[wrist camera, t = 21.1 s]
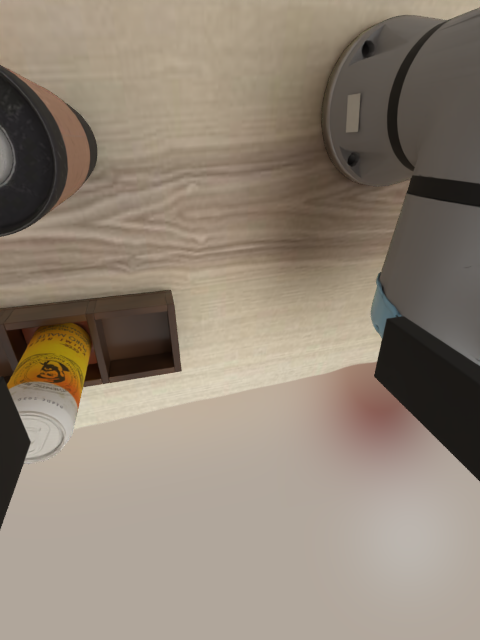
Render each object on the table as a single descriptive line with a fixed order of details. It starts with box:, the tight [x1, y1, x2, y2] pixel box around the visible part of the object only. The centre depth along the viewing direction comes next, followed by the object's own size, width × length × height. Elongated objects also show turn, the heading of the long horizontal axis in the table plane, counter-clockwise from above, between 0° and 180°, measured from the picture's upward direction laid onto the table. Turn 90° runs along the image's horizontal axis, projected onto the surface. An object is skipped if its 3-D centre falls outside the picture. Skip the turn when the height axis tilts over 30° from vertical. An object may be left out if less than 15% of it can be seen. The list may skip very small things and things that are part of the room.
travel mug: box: [0, 65, 97, 237], centre depth 22 cm, size 8×8×20 cm
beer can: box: [7, 323, 92, 464], centre depth 33 cm, size 6×6×15 cm
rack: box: [0, 290, 181, 387], centre depth 38 cm, size 26×9×4 cm, turn 91°
